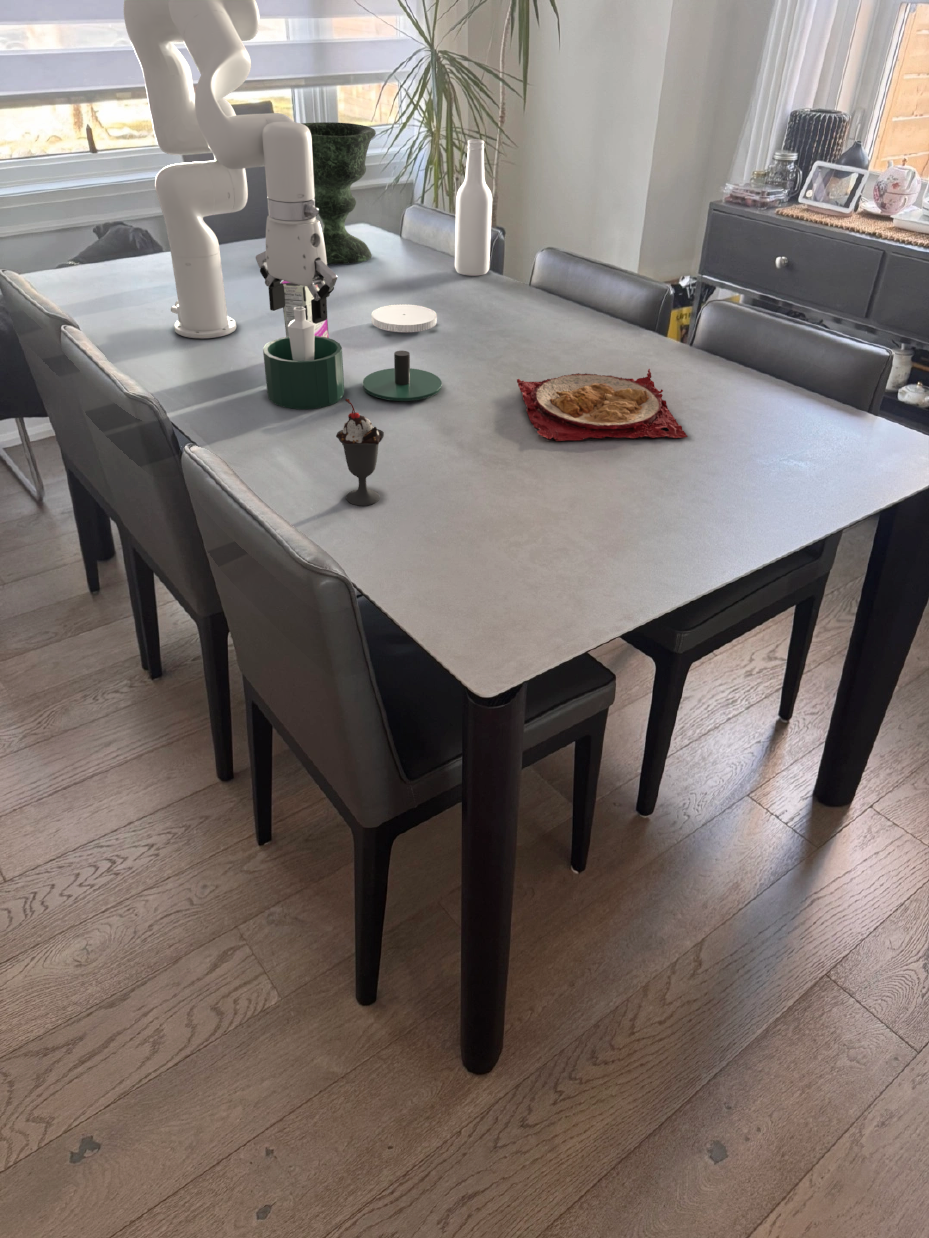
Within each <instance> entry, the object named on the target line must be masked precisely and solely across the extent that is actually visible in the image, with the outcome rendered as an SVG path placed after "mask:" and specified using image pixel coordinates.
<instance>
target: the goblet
mask: <svg viewBox="0 0 929 1238" xmlns="http://www.w3.org/2000/svg"><path fill="white" fill-rule="evenodd" d="M300 123H301V122H300ZM301 124H303V125H305V126H307V127H308V128H309V130H310V133H311V138H312V156H313V176H314V195H315V207H316V208H318V215H317V216H318V217H319V218H320V220H321V222H322V233H323V238H324V243H325V251H326V260H327V265H348V264H349V265H350V264H357V263H364V262H367V261H370V260H371V258H372V255H373V254H372V253H371V250H370V248H369V247H368V245H367V244H366V242H364V241H363V240H361V239H360V238H358V237H356V236H354V235H352V234H351V233H349V231H347V229H346V226H345V225H346V224H345V223H346V220H347V218H348V216H349V214H350V213H351V212H353V210H354V209H355V208H356V205H357V199H356V198H355V197H354V196H353V194H352V191H351V187H352V185H353V184H354V183H357V182H358V181H360V179H362V178H363V177H364V175H365V174H366V172H367V167H366V159H367V154H368V151H369V146H370V143H371V141H372V139H374V137H375V136H376V134H377V132H376V130H375V129H374V128H373V127H371V126H367V125H363V124H357V123H349V122H333V121H332V122H329V121H328V122H327V121H325V122H324V121H321V122H319V121H318V122H302V123H301Z"/></svg>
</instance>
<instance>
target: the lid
mask: <svg viewBox="0 0 929 1238" xmlns="http://www.w3.org/2000/svg"><path fill="white" fill-rule="evenodd" d="M410 360H411V353H410V352H409V351H407V350H396V351H395V352H394V353H393V361H394V362H393V365H394V367H393V368H385V369H381V370H377V371H373V372H371V373H369V374H368V375H366V376H365V377H364V378H363V380H362V388H363V390H364V391H365V392H366V393H367V394H369V395H370V396H372V397H375V398H379V399H382V400H387V401H395V402H409V401H418V400H419V401H420V400H423V399H427V398H430V397H433V396H435V395H437V394H439V392H440V391H441V390H442V387H443V383H442V382H443V381H442V380H441V378H440V377H439V376H438V375H436V374H434V373H432V372H430V371H427V370H423V369H418V368H412V367H411V361H410Z"/></svg>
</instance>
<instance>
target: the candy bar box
mask: <svg viewBox="0 0 929 1238" xmlns="http://www.w3.org/2000/svg"><path fill="white" fill-rule="evenodd" d="M312 280H313V279H312ZM323 282H324V284H325V281H323ZM280 283H283V284H284V292H285V307H283V308H282V311H283V320H284V329H285V337H289V332H288V325H289V323H290V322H291V321H293V320H294V319H295V316H294V310H293V309H294V307H304V308H306V310H305V316H306V320H307V321H309V322H311V323H312V324H314V336H320V337H326V338H329V339H330V333H329V321H328V319H327V320H325V321H322V322H320V323H317V324H315V323H313V322H312V309H311V300H313V299H314V297H313V296H312V294H311V292H310V291H309V289H308V287H307V286H302V285H298V284H294V283H291V282H287V281H284V280H282V281H281V282H280ZM315 286H316V288H317V290H318V291H319V290H320V289H319V288H318V286H317V285H315Z"/></svg>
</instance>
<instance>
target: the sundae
mask: <svg viewBox="0 0 929 1238" xmlns="http://www.w3.org/2000/svg"><path fill="white" fill-rule="evenodd" d="M345 402H347V403H348V404H349V405H350V406H351V410H352V411H351V412H349V413H348V415H347V417H348V420H347V421H346V422H344V424H343V427H342V429H341V430H338V431H337V433H336V435H335V437H336V438H337V439H338V441H339V442H340V443H341V444H342V447H343V452H344V457H345V461H346V465H347V468H348V471H349V472H350V473H351V474H352V475H353V476H354V477H356V478H357V479H358V486H357V489H353V490H351V491H349V492H348V493H347V494H346V495H345V497H346V498H345V499H346V501H347V502H348V503H349V504H352V505H355V506H359V507H361V506H362V507H363V506H371V505H374V504H376V503H377V502H379V500H380V498H381V495H380V494H379V493H378V491H376V490H373V489H370V488H368V486H367V478H368V477H370V476H371V475H372V474H373V473H374V472H375V470H376V466H377V463H378V462H377V461H378V453H379V444H380V443H381V442H382V440H383V438H384V437H385V432H384V431H383V430H381V429H380V428H379V429H378V428H377V426H374V425H372V422H371V420H370V419H368V417H366V416H365V415H361V414H359V412H356V410H355V407H354V405H353V403H352V402H351V401H350V399H349V398H345Z"/></svg>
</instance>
